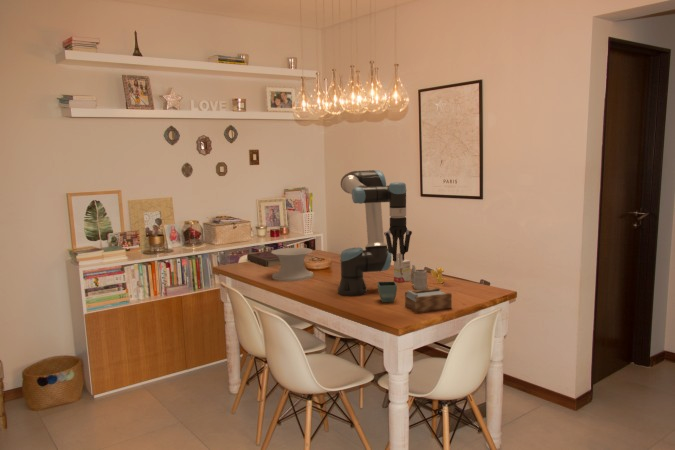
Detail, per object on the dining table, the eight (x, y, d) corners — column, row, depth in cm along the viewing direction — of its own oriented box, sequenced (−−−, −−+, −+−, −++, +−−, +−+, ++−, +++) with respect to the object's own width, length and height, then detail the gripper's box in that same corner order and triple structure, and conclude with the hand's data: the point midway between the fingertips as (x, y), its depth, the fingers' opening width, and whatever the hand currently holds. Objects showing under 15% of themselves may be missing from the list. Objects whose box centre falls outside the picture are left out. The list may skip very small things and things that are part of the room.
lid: (415, 302, 245) (415, 295, 245) (406, 296, 255) (405, 290, 255) (450, 297, 251) (450, 291, 250) (439, 292, 261) (439, 286, 260)
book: (295, 263, 370) (295, 255, 369) (266, 267, 357) (266, 260, 357) (275, 256, 395) (274, 250, 394) (247, 260, 383) (246, 253, 382)
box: (416, 313, 245) (416, 297, 244) (405, 306, 257) (405, 291, 256) (451, 308, 251) (451, 293, 250) (438, 302, 262) (438, 287, 261)
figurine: (452, 286, 293) (452, 270, 292) (430, 284, 298) (430, 269, 297) (457, 281, 304) (457, 266, 303) (436, 279, 309) (436, 264, 308)
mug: (419, 291, 285) (419, 268, 283) (405, 286, 295) (405, 265, 293) (430, 288, 289) (430, 266, 287) (416, 284, 299) (416, 263, 297)
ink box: (398, 282, 304) (398, 262, 302) (393, 281, 308) (393, 260, 307) (410, 280, 308) (410, 260, 307) (405, 279, 312) (405, 259, 311)
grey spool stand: (265, 280, 319) (264, 254, 317) (281, 271, 343) (281, 247, 341) (304, 282, 312) (304, 255, 309) (319, 272, 335) (318, 248, 333)
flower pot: (394, 298, 271) (394, 281, 270) (397, 303, 262) (397, 285, 261) (377, 299, 271) (377, 281, 270) (379, 304, 262) (379, 286, 261)
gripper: (386, 218, 238) (387, 271, 241) (416, 216, 242) (416, 268, 245) (379, 216, 245) (380, 267, 248) (408, 215, 249) (409, 265, 252)
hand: (398, 267), depth 246 cm, fingers closed
